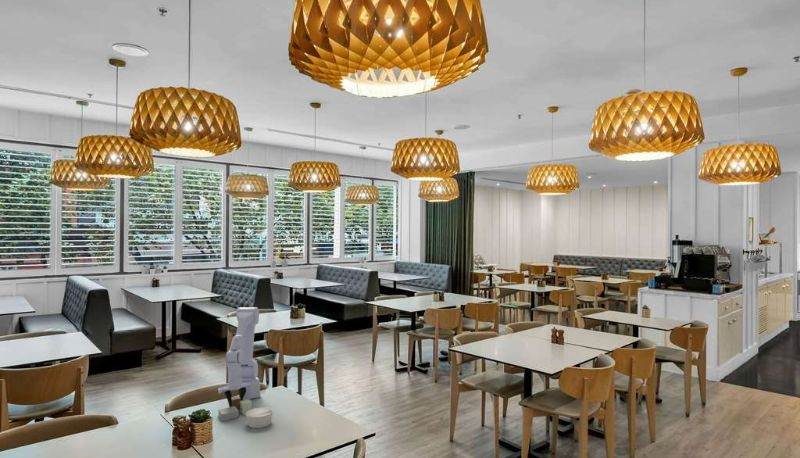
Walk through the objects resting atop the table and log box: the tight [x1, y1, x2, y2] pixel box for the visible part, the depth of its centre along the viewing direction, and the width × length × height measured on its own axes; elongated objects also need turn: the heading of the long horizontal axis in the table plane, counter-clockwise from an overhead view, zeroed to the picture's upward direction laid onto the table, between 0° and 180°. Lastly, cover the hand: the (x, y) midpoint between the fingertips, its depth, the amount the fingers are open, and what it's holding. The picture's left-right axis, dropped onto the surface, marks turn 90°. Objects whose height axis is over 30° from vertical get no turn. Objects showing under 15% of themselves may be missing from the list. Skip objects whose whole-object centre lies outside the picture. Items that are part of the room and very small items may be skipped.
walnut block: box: [231, 395, 241, 411], centre depth 227 cm, size 4×4×5 cm
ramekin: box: [245, 406, 274, 429], centre depth 209 cm, size 11×11×5 cm
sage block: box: [239, 399, 253, 416], centre depth 223 cm, size 4×4×5 cm
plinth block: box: [217, 406, 240, 422], centre depth 218 cm, size 7×7×3 cm
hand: (235, 405), depth 227 cm, fingers closed on walnut block, 4 cm apart
